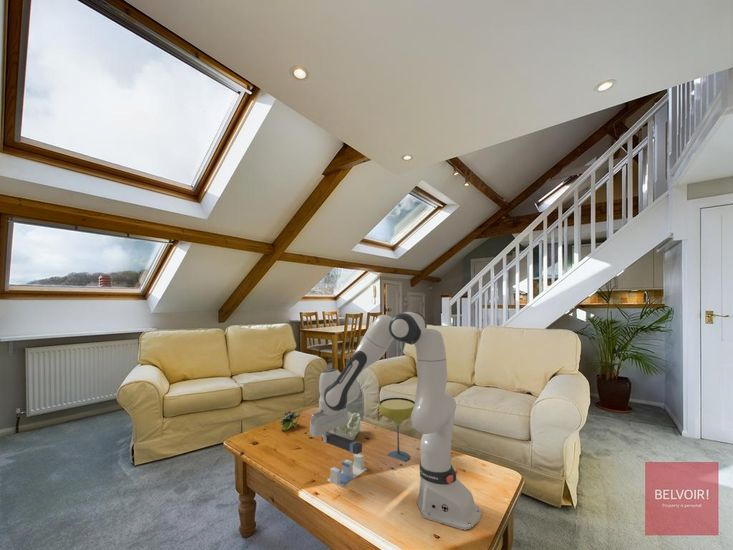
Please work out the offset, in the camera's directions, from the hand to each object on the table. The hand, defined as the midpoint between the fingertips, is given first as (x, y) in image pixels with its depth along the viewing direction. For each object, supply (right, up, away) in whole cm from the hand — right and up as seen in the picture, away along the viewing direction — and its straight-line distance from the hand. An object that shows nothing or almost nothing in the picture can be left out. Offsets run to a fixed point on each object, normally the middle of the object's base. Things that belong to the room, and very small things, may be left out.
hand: (329, 440), depth 142 cm
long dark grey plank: (+5, 0, -4) cm, 7 cm away
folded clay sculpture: (+7, -18, +38) cm, 43 cm away
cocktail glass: (+31, -16, +16) cm, 38 cm away
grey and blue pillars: (+8, -15, -2) cm, 17 cm away
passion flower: (-28, -19, +51) cm, 62 cm away
